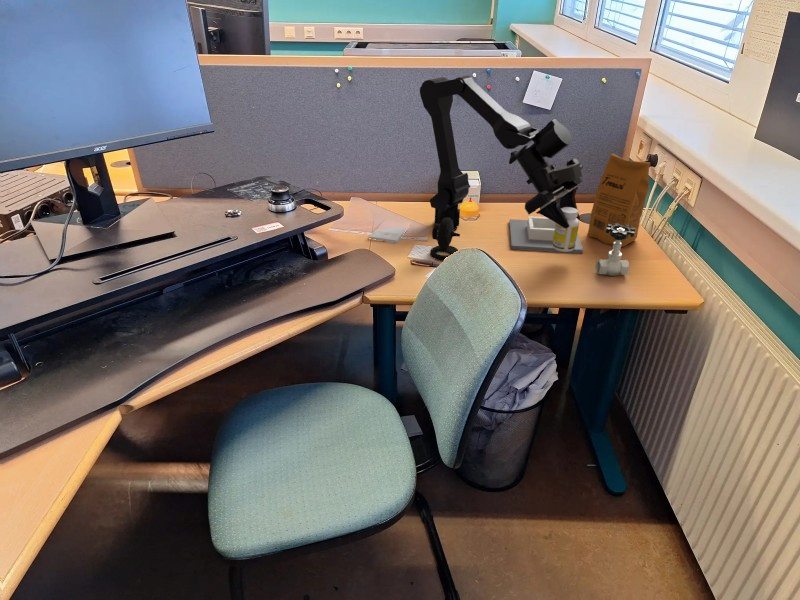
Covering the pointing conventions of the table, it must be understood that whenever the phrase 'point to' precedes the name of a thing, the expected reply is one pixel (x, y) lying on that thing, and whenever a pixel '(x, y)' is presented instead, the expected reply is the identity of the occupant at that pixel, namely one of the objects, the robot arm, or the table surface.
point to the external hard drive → (388, 234)
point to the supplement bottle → (566, 231)
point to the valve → (615, 252)
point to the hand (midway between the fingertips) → (572, 223)
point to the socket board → (536, 235)
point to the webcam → (443, 238)
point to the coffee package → (619, 198)
